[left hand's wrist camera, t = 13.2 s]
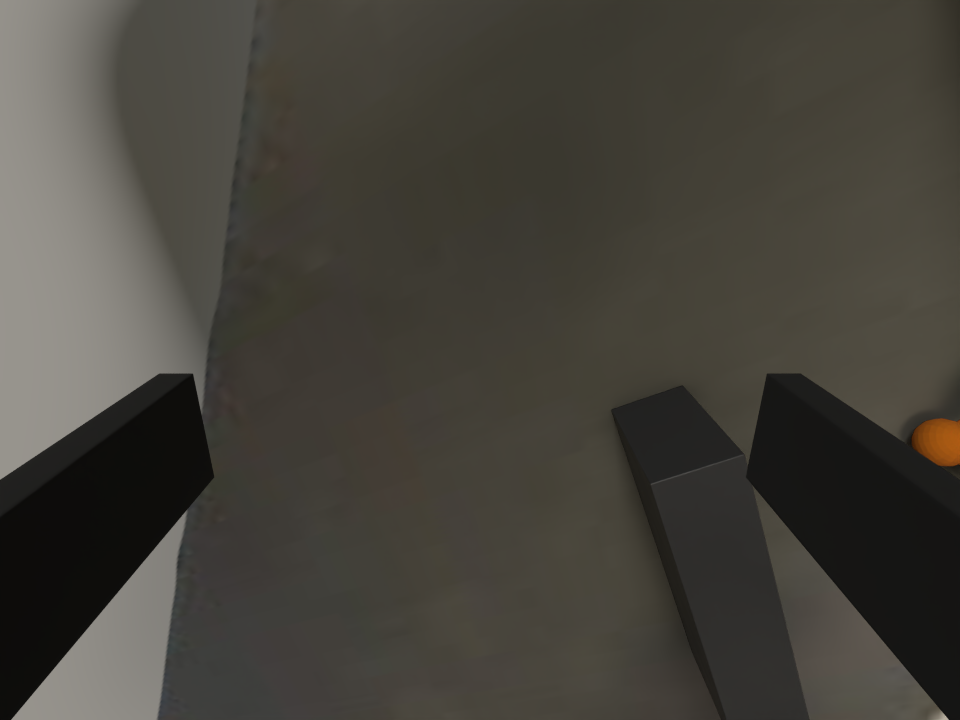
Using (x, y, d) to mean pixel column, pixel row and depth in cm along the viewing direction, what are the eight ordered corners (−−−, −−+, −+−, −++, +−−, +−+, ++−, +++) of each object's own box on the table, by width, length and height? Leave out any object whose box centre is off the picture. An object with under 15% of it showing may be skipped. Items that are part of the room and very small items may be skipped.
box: (610, 409, 44) (650, 484, 34) (682, 385, 43) (744, 454, 33) (692, 651, 54) (741, 766, 43) (752, 634, 53) (816, 748, 43)
